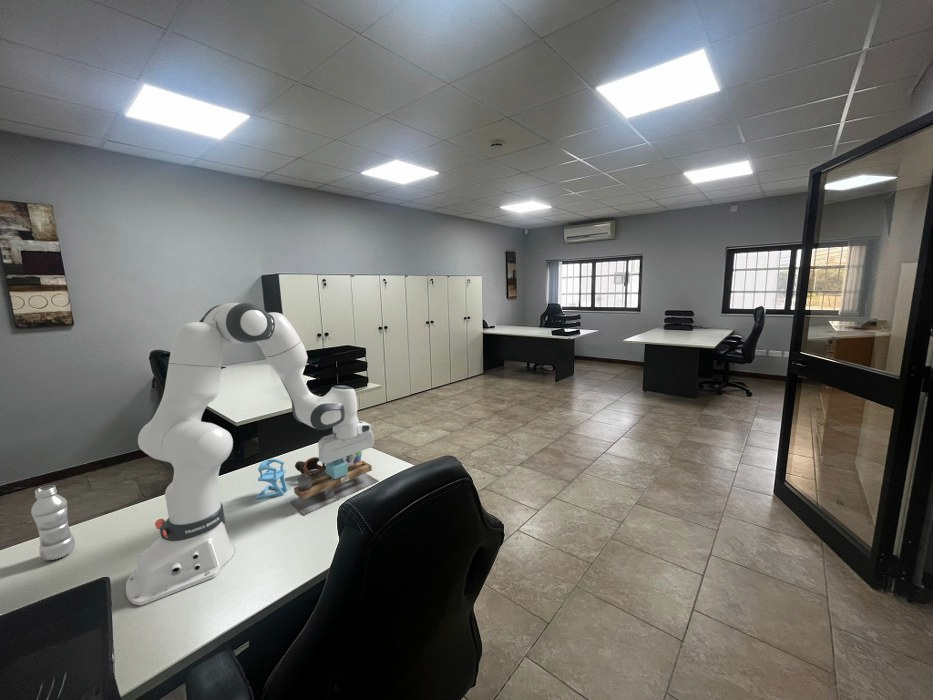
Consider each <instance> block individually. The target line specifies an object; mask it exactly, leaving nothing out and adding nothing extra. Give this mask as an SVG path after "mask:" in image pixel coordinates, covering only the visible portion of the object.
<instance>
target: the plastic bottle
mask: <svg viewBox="0 0 933 700" xmlns="http://www.w3.org/2000/svg"><path fill="white" fill-rule="evenodd" d="M57 493H58V490H57V488H56V485H55V484H50V485H45V486H41V487H39V488H36V489H35V490H34V494H35V496H34V497H35V499H36V501H35V502H34V503H33V505H32V507H31V510H30V514H31V516H32V518H33V520H34V522H35V525H36V527H37V530H38V535H39V547H38V548H39V550H38V551H39V553H38V554H39V556H40V558H41V559H42V560H43V561H46V560H52V561H55V559H56V560H59V559H61V557H62V558H65V556H68V555H69V554H71V553H72V552H73V551H74V549H75V548H76V540H75V538H74V535H73V534H72V531H71V528H70V526H69V520H68V519H69V518H68V501H67V499H66V498H65V497H63V496H61V495H59V494H57ZM67 554H68V555H67ZM58 558H59V559H58Z"/></svg>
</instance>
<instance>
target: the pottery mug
mask: <svg viewBox="0 0 933 700" xmlns="http://www.w3.org/2000/svg"><path fill="white" fill-rule="evenodd" d="M319 462H320V461H319V456H318V457H317V456H316V457H315V456H314V457H313V456H312V457H310V458H308V459H306V460H305V461H302V460H299V461H297V462H295V464H294V468H295V469H296V471H298V472H300V473H301V474H300V475H304V474H305V475H306V476H309V477H311V481H312V480H315V479H317V478H320V477H322V475H323V474H324V473H326V464H324V463H322V462H321V464H322V465H321V464H319ZM313 470H315V471H313Z"/></svg>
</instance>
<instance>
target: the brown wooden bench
mask: <svg viewBox="0 0 933 700" xmlns="http://www.w3.org/2000/svg"><path fill="white" fill-rule="evenodd" d="M372 469H373V468H372V465H371V464H369V462H368V463H367V462H366V461H364V460H361V461H360V462H358V463H355V464H353V465H352V466H350V467H348V474H347V475H344V476H342V477H340V478H337V479H333V478H332V479H331V477H330V476H329V475H327V474H326V475H323V476H322V475H321V476H319V477H317V478H315V479H313V480H311V477H309V476H307V475H306V476H302V477H299V479H298V480H297V484H298V485H297V486H295V487H293V491H294V492H293V493H294V494H295V495H296V496H298V497H297V498H295V499H292V500H290V501H289V504H290V505H291V506H293V507H294V509H296V510H297V512H298V511H299V513H301V515H303V516H306V515H308V514H311V513H313V512H315V511H317V510H319V509H322V508H324V507H326V506H328V505H330V504H333V503H335V502H337V501H340V500H341V499H340V498H342V497H344V498H346V497H348V496H350V495H352V494H355V493H357V492H359V491H361V490H363V489H366V488H368V487H370V486H372V485H374V484H377V483H378V482H379V481H380V480H378V479H376V478H375V477H373V476H371V475H369V474H368V473H369V472H371V471H373V470H372ZM342 499H343V498H342ZM336 500H337V501H336Z"/></svg>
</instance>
